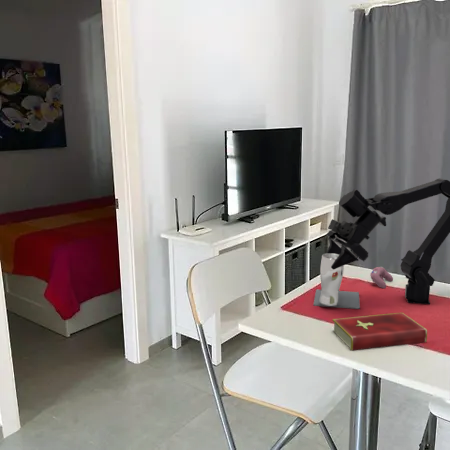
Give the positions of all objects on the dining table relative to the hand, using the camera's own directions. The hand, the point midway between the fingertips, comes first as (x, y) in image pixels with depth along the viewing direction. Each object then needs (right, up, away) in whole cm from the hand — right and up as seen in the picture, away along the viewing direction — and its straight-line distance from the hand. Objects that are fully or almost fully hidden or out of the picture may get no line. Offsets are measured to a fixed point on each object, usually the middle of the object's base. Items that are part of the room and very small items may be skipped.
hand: (327, 265), depth 148 cm
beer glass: (+1, -12, +3) cm, 12 cm away
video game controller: (+24, -9, +23) cm, 34 cm away
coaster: (+5, -12, +9) cm, 15 cm away
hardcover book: (+10, -18, -18) cm, 27 cm away
